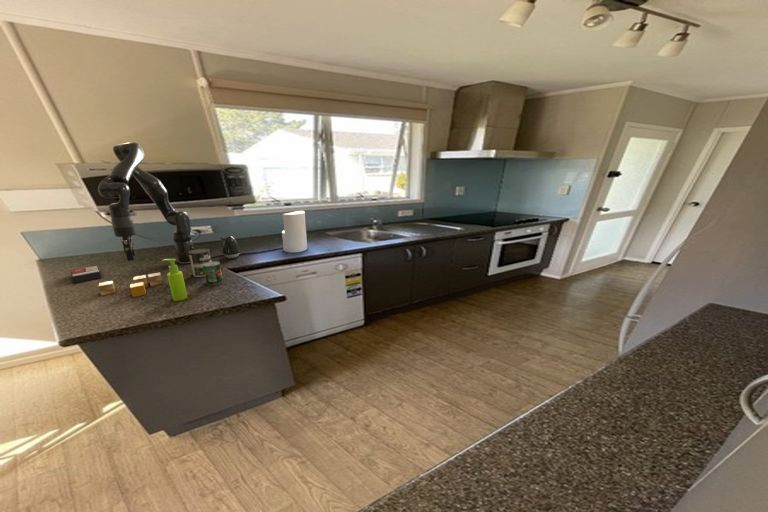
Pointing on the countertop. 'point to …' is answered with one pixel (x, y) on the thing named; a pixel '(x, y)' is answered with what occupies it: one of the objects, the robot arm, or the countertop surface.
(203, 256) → the coffee can
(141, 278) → the maple block middle
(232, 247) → the dark ribbed dome
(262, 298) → the countertop surface
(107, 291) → the maple block
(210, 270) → the canned tomato
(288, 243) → the cylinder
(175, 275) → the soap dispenser
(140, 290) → the mustard block
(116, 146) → the robot arm
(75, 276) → the red and grey box
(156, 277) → the maple block
